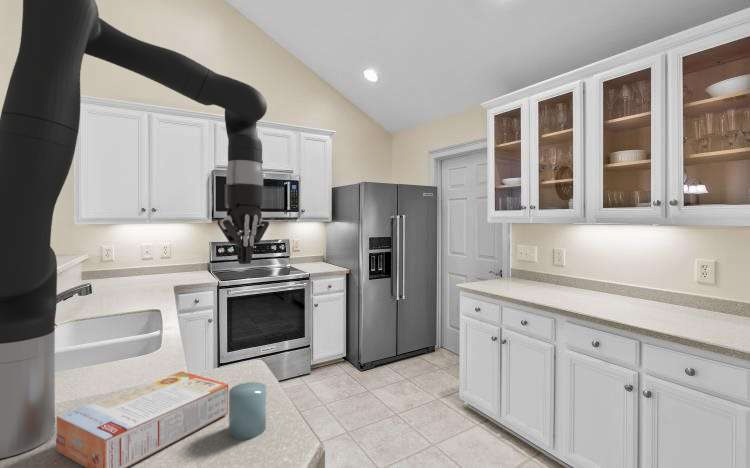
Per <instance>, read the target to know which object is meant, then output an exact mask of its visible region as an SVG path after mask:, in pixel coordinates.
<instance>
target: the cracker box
mask: <svg viewBox="0 0 750 468" xmlns="http://www.w3.org/2000/svg"><path fill="white" fill-rule="evenodd" d="M226 415H229V384H228V383H226V382H225V383H224V382H221V381H218V380H214V379H211V378H207V377H204V376H200V375H196V374H193V373H188V372H185V371H179V372H177V373H173V374H171V375H168V376H165V377H162V378H159V379H156V380H154V381H151V382H148V383H145V384H143V385H140V386H137V387H134V388H132V389H129V390H125V391H122V392H120V393H117V394H114V395H111V396H108V397H106V398H104V399H100V400H98V401H95V402H91V403H89V404H87V405H82V406H81V407H77V408H76V409H72V410H70V411H67V412H64V413H60V414H59V415H57V416H56V437H55V438H56V439H55V441H56V442H55V443H56V447H55V449H56V452H57V453H60V454H61V455H63V456H65V457H66V458H68V459H70V460H72V461H73V462H75V463H77V464H79V465H81V466H82V467H84V468H129V467H130V466H131V465H134V464H135V463H137V462H140V461H142V460H143V459H145V458H148V457H149V456H150V455H152V454H154V453H156V452H158V451H160V450H162V449H164V448H165V447H168V446H170V445H171V444H173V443H175V442H177V441H178V440H181V439H183V438H184V437H186V436H188V435H190V434H192V433H194V432H196V431H198V430H199V429H201V428H203V427H205V426H207V425H209V424H211V423H212V422H214V421H216V420H218V419H220V418H221V417H224V416H226Z"/></svg>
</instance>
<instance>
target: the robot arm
mask: <svg viewBox="0 0 750 468" xmlns="http://www.w3.org/2000/svg"><path fill="white" fill-rule="evenodd" d="M21 20H22V21H21V33H20V35H21V36H20V43H19V49H18V53H17V57H16V60H15V62H14V66H13V67H12V68H13V69H12V71H11V72H12V73H11V74H10V79H9V81H8V86H7V90H6V94H5V97H4V101H3V106H2V108H1V112H0V459H4V458H8V457H9V458H10V457H13V456H16V455H19V454H22V453H26V452H28V451H30V450H33V449H35V448H36V447H39V446H41V445H43V444H44V443H46V442H47V441H49V440H50V439H51V438H52V437H53V436H54V435H55V430H56V428H55V427H56V425H55V424H56V412H55V411H56V410H55V409H56V406H55V405H56V401H55V399H56V395H55V394H56V391H55V389H56V387H55V385H56V382H55V379H56V378H55V377H56V373H55V372H56V371H55V369H56V365H55V364H56V361H55V359H56V358H55V357H56V354H55V349H56V346H55V345H56V344H55V343H56V340H55V337H56V335H55V334H56V333H55V332H56V330H55V329H56V328H55V327H56V325H55V324H56V315H57V314H56V313H57V298H58V297H57V292H58V291H57V289H58V288H57V287H58V262H57V256H56V253H55V250H54V249H53V248H52V246H51V242H52V241H51V239H52V225H53V219H54V218H53V217H54V211H55V208H56V204H57V202H58V198H59V196H60V194H61V192H62V190H63V187H64V185H65V184H66V183H65V182H66V180H67V178H68V175H69V172H70V169H71V167H72V163H73V159H74V158H75V152H76V146H77V142H78V135H79V130H80V119H81V104H82V103H81V71H82V70H81V69H82V63H83V59H84V55H88V56H90V57H94V58H95V59H96V58H97V59H99V60H102V61H105V62H108V63H110V64H113V65H115V66H118V67H121V68H123V69H126V70H128V71H130V72H133V73H135V74H138V75H140V76H142V77H145V78H146V79H149V80H152V81H154V82H156V83H158V84H159V85H162V86H164V87H166V88H168V89H170V90H171V91H172V90H173V91H175V92H176V93H178V94H180V95H182V96H183V97H186V98H188V99H190V100H192V101H195V102H196V103H198V104H201V105H204V106H209V107H210V106H217V107H219V108H222V109H224V122H225V129H226V130H225V131H226V135H227V140H228V142H227V143H228V144H227V167H226V180H225V181H226V185H225V186H226V190H225V191H226V200H225V203H226V205H228V208H227V211H226V216H225V217H224V218H223V219H218V220H217V225H218V227H219V229H220V230H221V232H222V233H223V235H224V236H225V238H226V240H227V241H228V243H229V244H231V245H235V246H236V247H237V255H236V257H237V262H238V264H240V265H249V264H251V263H252V259H253V246H254V245H256V244H259V243H260V242H261V240H262V239H263V237H264V235H265V233H266V232H267V229H268V228H269V226H270V222H269V221H268V220H266V221H265V220H264V219H263V217H262V216H263V214H262V211H261V207H262V206H263V205H264V171H263V143H262V140H261V138H260V137H258V133H257V123H258V122H259V121H260V120H261V119H263V117H264V116H265V114H266V113H267V109H268V105H267V101H266V99H265V97H264V96H263V94H262V93H261V92H260V91H259V90H258V89H257V88H255V87H253V86H252V85H250V84H248V83H245V82H243V81H240V80H237V79H235V78H232V77H229V76H227V75H222V74H219V73H217V72H215V71H213V70H212V69H210V68H208V67H207V66H205V65H204V64H201V63H199V62H197V61H196V60H193V59H192V58H190V57H189V56H186V55H184V54H182V53H180V52H177V51H175V50H172V49H169V48H166V47H162V46H160V45H159V46H158V45H156V44H152V43H148V42H146V41H144V40H141V39H138V38H135V37H134V36H131V35H129V34H126V33H125V32H124V31H123V32H122V31H121V30H119V29H118V28H116V27H114V26H113V25H111V24H109V23H108V22H107V21H105V20H103V19H102V18H100V14H99V8H98V5H97V2H96V0H22V19H21Z"/></svg>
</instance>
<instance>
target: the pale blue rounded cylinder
mask: <svg viewBox="0 0 750 468" xmlns="http://www.w3.org/2000/svg"><path fill="white" fill-rule="evenodd" d="M266 416H267V387H266V385H265V384H264V383H263V382H259V381H258V382H257V381H249V382H243V383H239V384H237V385H235V386H233V387H231V388H230V389H229V390H228V435H229V436H230V438H232V439H234V440H239V441H245V440H249V439H250V440H251V439H254V438H257V437H258V436H259V437H260V435H262V434H264V432H265V431H266V428H267V426H266V424H267V421H266V420H267V419H266V418H267V417H266Z"/></svg>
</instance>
